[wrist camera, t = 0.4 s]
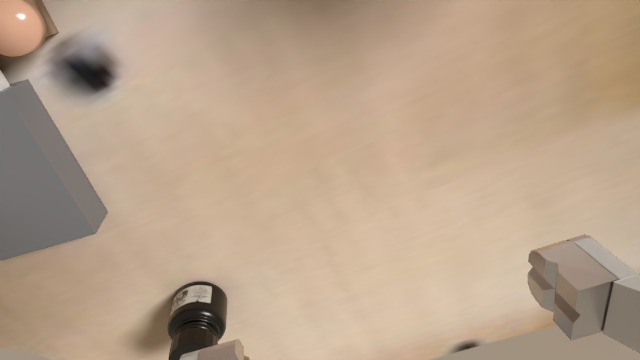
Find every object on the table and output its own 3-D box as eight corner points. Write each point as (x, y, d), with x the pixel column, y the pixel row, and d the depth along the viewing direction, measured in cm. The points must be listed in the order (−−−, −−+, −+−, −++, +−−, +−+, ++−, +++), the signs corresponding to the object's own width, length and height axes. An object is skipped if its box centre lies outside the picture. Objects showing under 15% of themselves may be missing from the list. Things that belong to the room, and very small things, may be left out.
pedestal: (3, 4, 44) (-18, 8, 40) (39, -5, 44) (21, -2, 40) (24, 41, 46) (6, 47, 42) (58, 32, 46) (43, 37, 42)
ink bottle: (204, 270, 65) (196, 327, 55) (239, 298, 70) (238, 356, 59) (160, 301, 67) (145, 362, 56) (198, 326, 71) (189, 388, 61)
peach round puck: (-34, 0, 40) (-46, 1, 38) (25, -15, 40) (15, -15, 38) (3, 59, 43) (-7, 62, 41) (57, 44, 43) (49, 48, 41)
